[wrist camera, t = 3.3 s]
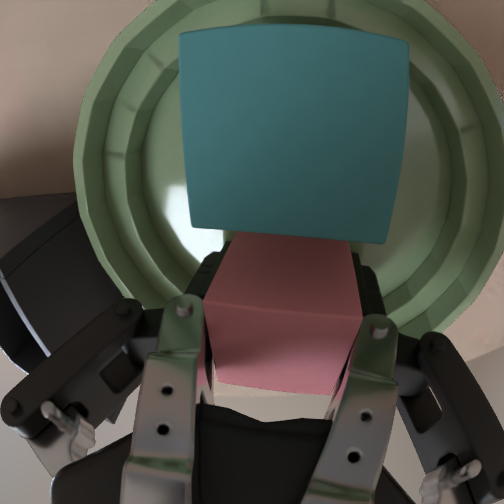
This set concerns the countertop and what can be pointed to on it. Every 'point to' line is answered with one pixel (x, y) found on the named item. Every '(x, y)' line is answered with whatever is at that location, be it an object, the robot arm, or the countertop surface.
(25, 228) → the bin
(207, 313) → the block
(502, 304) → the countertop surface
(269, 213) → the block
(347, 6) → the green plate
